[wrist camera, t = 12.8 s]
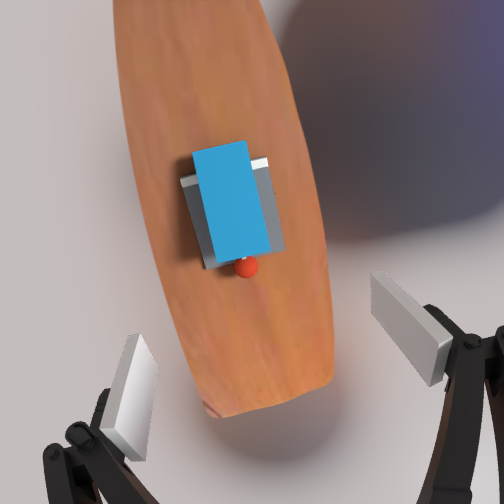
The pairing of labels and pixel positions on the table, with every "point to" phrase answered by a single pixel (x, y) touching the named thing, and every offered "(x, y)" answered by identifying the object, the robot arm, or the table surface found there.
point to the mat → (267, 205)
